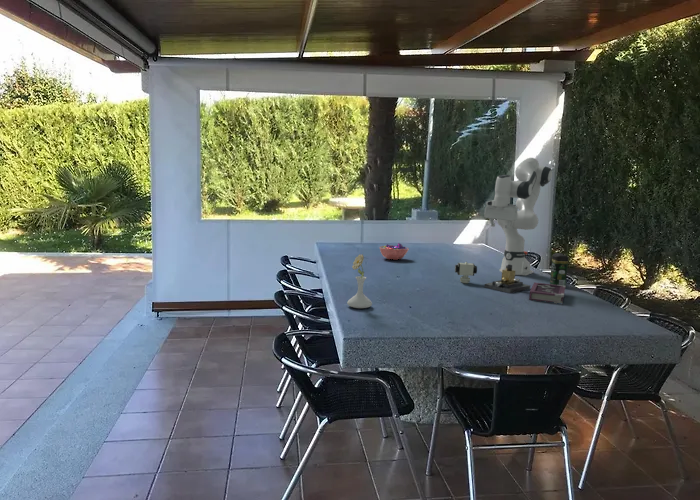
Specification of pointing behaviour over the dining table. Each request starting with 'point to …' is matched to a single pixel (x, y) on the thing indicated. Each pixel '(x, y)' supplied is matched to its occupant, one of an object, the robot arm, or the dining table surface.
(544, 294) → the book
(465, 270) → the pneumatic valve
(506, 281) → the brass valve
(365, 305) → the flower in vase
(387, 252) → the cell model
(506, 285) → the plate
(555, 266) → the coffee jar
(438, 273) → the dining table surface
